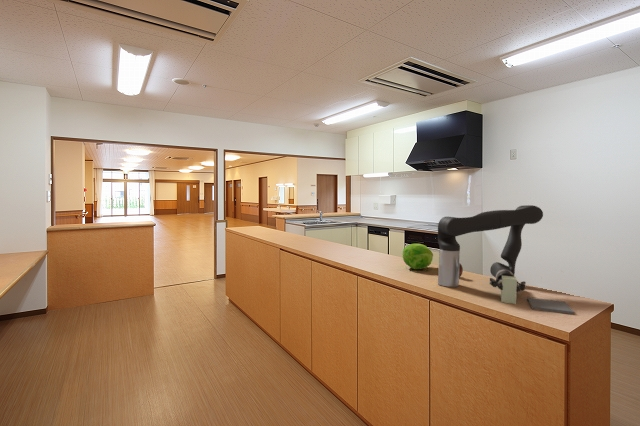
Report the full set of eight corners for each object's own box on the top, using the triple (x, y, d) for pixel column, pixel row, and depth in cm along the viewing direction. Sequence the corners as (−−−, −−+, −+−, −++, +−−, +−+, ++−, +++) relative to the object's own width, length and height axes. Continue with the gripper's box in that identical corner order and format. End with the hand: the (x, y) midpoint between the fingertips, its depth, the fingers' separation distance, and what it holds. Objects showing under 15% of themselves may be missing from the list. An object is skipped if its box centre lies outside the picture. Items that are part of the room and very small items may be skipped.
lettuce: (438, 272, 193) (443, 247, 192) (416, 273, 182) (421, 247, 180) (415, 264, 207) (420, 241, 205) (394, 265, 195) (398, 240, 194)
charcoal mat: (532, 309, 125) (532, 306, 125) (527, 299, 137) (527, 297, 137) (573, 314, 120) (574, 311, 120) (564, 303, 132) (564, 301, 132)
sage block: (501, 302, 133) (502, 278, 133) (500, 298, 138) (501, 275, 137) (516, 304, 131) (517, 279, 130) (514, 300, 136) (515, 276, 135)
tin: (438, 272, 184) (439, 258, 183) (443, 272, 185) (443, 257, 184) (458, 279, 169) (459, 263, 169) (463, 278, 171) (464, 263, 170)
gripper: (488, 269, 150) (490, 277, 134) (524, 272, 144) (530, 281, 128) (487, 285, 150) (489, 295, 135) (523, 289, 144) (530, 300, 129)
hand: (509, 288), depth 132 cm, fingers closed on sage block, 5 cm apart
